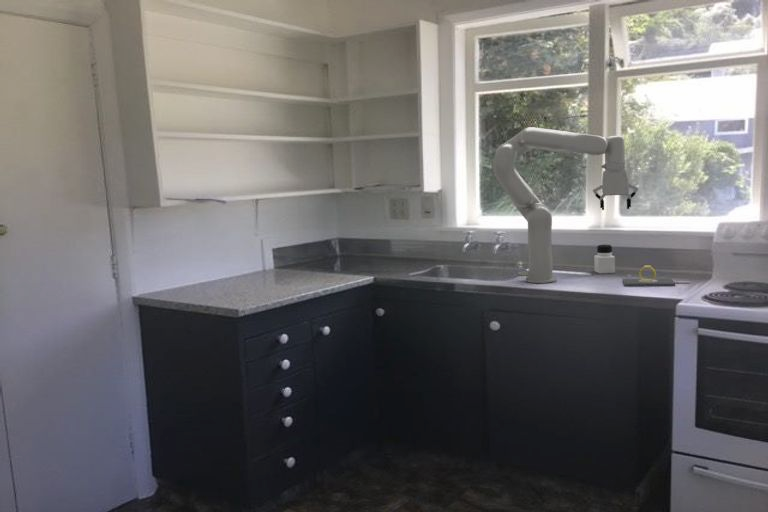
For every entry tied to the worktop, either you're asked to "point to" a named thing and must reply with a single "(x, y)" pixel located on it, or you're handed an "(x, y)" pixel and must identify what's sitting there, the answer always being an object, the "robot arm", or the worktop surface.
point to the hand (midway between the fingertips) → (615, 209)
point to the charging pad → (652, 282)
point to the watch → (647, 267)
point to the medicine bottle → (604, 260)
